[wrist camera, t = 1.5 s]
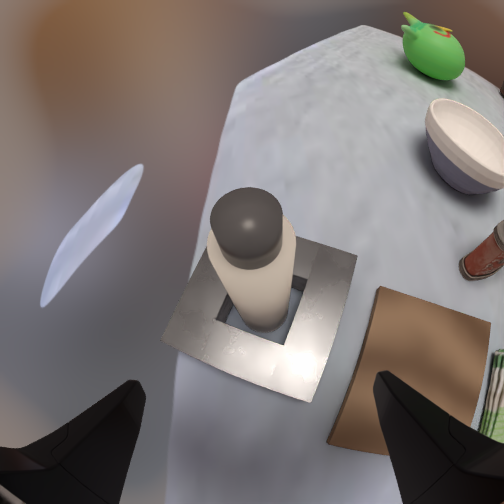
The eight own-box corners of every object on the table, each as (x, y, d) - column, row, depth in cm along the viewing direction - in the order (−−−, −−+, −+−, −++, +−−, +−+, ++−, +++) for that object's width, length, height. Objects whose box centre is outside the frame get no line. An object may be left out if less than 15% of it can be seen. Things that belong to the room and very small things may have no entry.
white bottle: (277, 339, 22) (277, 278, 9) (233, 322, 23) (177, 243, 10) (294, 296, 23) (310, 190, 11) (251, 281, 24) (222, 168, 12)
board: (452, 457, 14) (457, 459, 13) (326, 441, 17) (328, 444, 16) (485, 325, 19) (490, 322, 18) (376, 289, 23) (380, 285, 22)
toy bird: (461, 101, 37) (479, 49, 24) (393, 71, 42) (403, 14, 29) (451, 74, 44) (462, 31, 31) (394, 51, 48) (401, 6, 35)
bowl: (397, 132, 32) (410, 90, 25) (465, 141, 31) (481, 108, 24) (438, 214, 25) (468, 171, 19) (506, 214, 25) (533, 181, 18)
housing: (306, 399, 19) (310, 402, 16) (173, 346, 22) (160, 340, 19) (349, 270, 24) (357, 255, 21) (229, 231, 27) (223, 214, 24)
